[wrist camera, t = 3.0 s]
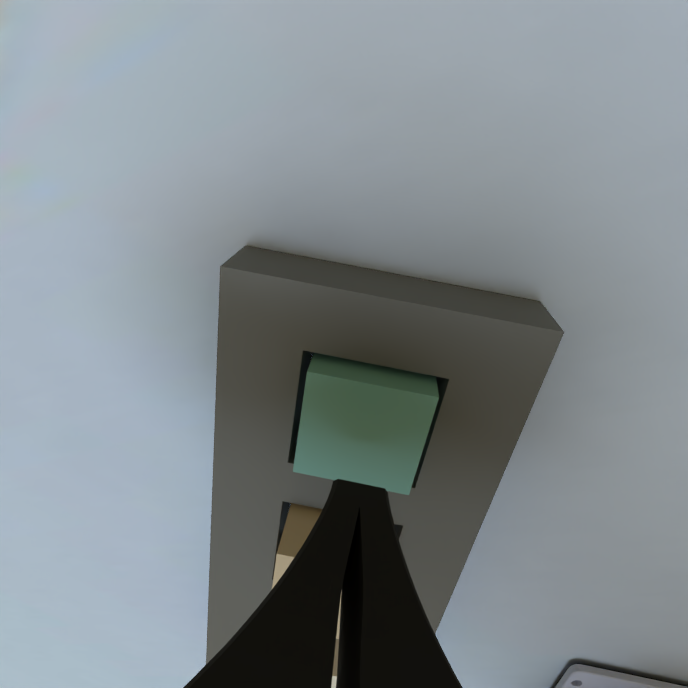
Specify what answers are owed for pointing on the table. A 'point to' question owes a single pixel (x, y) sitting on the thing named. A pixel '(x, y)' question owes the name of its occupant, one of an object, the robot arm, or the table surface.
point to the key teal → (364, 422)
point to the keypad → (375, 348)
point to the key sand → (296, 539)
